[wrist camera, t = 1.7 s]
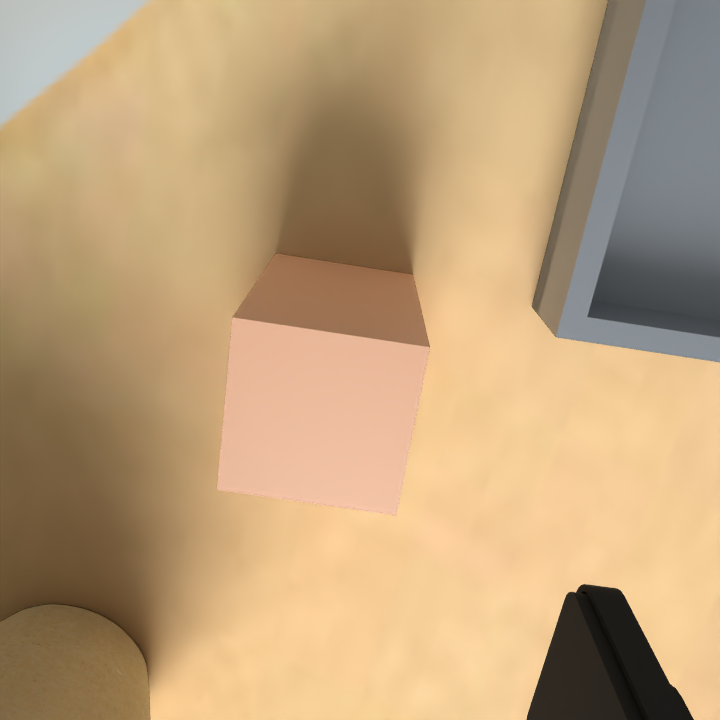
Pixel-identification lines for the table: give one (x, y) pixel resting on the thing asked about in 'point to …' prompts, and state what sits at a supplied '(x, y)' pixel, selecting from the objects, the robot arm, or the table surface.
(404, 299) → the terracotta block
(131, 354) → the table surface
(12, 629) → the plant pot
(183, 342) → the table surface
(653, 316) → the tray
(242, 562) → the table surface
